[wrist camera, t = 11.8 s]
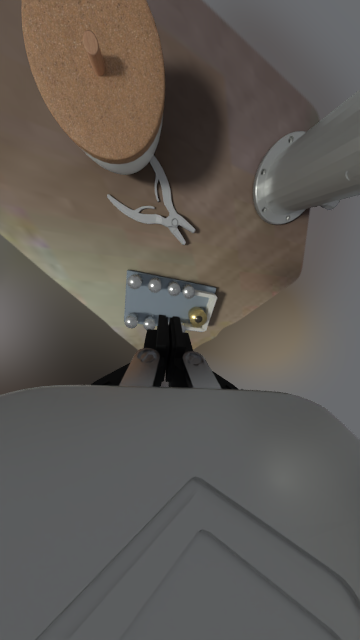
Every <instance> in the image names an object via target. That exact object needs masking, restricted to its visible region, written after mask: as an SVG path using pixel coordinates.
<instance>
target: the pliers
mask: <svg viewBox="0 0 360 640" xmlns="http://www.w3.org/2000/svg"><path fill="white" fill-rule="evenodd" d="M149 162H150V164H151V165H152V167H153V169H154V171H155V173H156V179H155V194H156V198H157V201H158V202H159V199H158V196H157V183H158V180H159V182H160V184H161V188H162V194H163V200H164V204H165V206H166V208H167V209H168V211H169V213H170V214H169V216H168V217H167V218H166V219H165V218H164V217H162V216H160V215H157V214H141V213H139V212H140V211H141V210H142V209H145V208H151V209H154V207H152V206H143V207H140V208H138V209H137V210H131V209H129V208H128V207H126V206H124V205H123V204H121V203H120V202H118V201H117V200H115V199H114V198H113V197H111V196H110V195H109V194H108V196H107V197H108V199H109V200H110V201H111V202H112V203H113V204H114V205H115V206H116V207H117V208H118V209H119V210H120V211H121V212H123V213H124V214H125V215H127V216H129V217H130V218H132V219H134V220H136V221H139V222H142V223H146V224H161V225H163V226H165V227H168V228H169V229H170V231H171V232H172V234H173V235H174V236H175V237H176V238H177V239H178V240H179V241H180V242H181V243H182V244H183V245H184V244H185V243H186V242H185V240H184V238H183V237H182V235H181V233H180V232H179V230H178V228H177V227H178V225H179V226H181V227H183V228H185V229H186V230H188V231H190V232H191V233H194V231H195V229H194V228H193V227H192V226H191V225H190V224H189V223H188V222H187V221H186V220H185V219H184V218H183V217H182V216H180V215H178V214H177V213H176V211H175V209H174V208H173V204H172V201H171V192H170V187H169V183H168V180H167V178H166V175H165V173H164V171H163V169H162V167H161V165H160V163H159V162H158V160H157V159H156V157H155V156H154V155H153V157H152V158H151V160H150V161H149Z"/></svg>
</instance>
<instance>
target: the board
mask: <svg viewBox="0 0 360 640" xmlns="http://www.w3.org/2000/svg"><path fill="white" fill-rule="evenodd" d="M134 273H137V274H140V275H141V276H142V278H143V282H142V284H141V286H140V287H139V288H138V289H131V288H130V287H129V286H128V284H127V282H126V299H125V316H124V322H125V320H126V318H127V316H128V314H129V313H131V312H134V313H137V314H138V316H139V319H138V324H144V320H145V317H146V316H147V315H153V316H154V317H155V319H156V321H155V326H158V318H159V315H166V317H168V318H172V317H173V316H177V317H180V319H181V320H183V322H184V325H185V328H186V330H192V331H199V332H204V331H206V329H207V326H208V323H209V320H210V317H211V314H212V311H213V309H214V306H215V303H216V300H217V296H216V295H215V291H216V288H215V287H211V286H206V285H201V284H196V283H191V282H186V281H181V280H176V279H171V278H166V277H161V276H156V275H152V274H147V273H142V272H137V271H132V270H127V280H128V278H129V277H130V276H131V275H132V274H134ZM153 277H157V278H159V279H160V280H161V290H160V291H159V292H157V293H153V292H151V291H150V290H149V288H148V284H149V281H150V279H151V278H153ZM170 281H176V282H177V283H178V284H179V286H180V288H182V286H183V285H184V284H190V285H191V286H192V287H193V288H194V289H195V296H194V297H193V298H191V299H187V298H185V297H184V295H183V293H182V291H181V292H180V294H179V295H177V296H171V295H170V294H169V292H168V287H167V286H168V283H169V282H170ZM193 307H200V308H202V309H203V311H204V312H205V314H206V315H207V321H206V323H205V324H204V325H203V326H200V327H195V326H193V325H192V324H191V322H190V320H189V317H188V312H189V310H190V309H191V308H193Z"/></svg>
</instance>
